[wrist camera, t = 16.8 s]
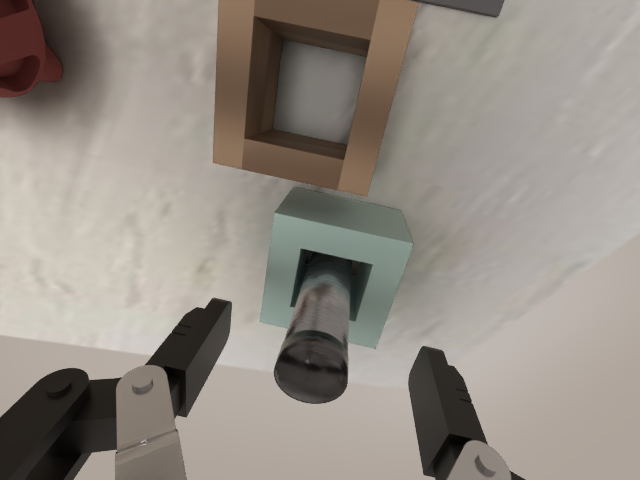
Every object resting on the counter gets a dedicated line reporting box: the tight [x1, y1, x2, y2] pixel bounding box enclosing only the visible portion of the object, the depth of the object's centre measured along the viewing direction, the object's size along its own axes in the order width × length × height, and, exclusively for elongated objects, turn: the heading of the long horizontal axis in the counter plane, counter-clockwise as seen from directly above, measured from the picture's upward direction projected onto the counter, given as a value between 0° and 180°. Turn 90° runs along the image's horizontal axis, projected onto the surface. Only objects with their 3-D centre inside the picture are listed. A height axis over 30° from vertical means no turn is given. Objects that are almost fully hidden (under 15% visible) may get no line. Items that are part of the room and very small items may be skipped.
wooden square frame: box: [213, 0, 419, 197], centre depth 15 cm, size 7×7×5 cm
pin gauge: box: [274, 251, 352, 404], centre depth 16 cm, size 3×3×11 cm
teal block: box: [260, 187, 414, 349], centre depth 19 cm, size 7×7×5 cm
